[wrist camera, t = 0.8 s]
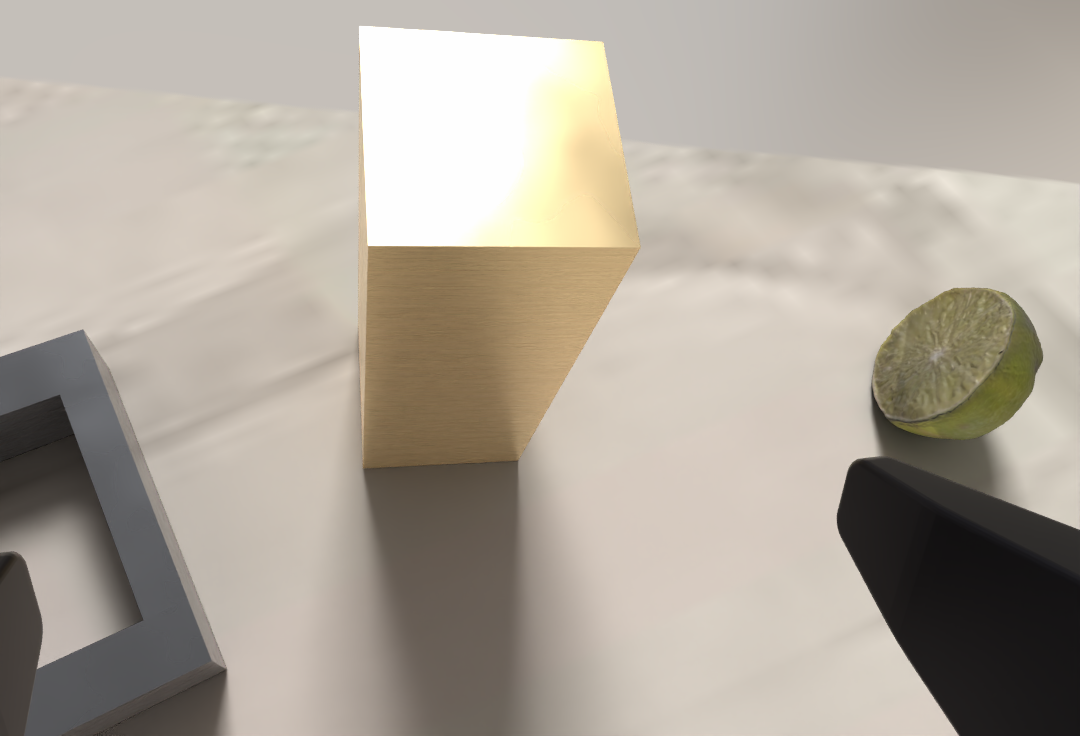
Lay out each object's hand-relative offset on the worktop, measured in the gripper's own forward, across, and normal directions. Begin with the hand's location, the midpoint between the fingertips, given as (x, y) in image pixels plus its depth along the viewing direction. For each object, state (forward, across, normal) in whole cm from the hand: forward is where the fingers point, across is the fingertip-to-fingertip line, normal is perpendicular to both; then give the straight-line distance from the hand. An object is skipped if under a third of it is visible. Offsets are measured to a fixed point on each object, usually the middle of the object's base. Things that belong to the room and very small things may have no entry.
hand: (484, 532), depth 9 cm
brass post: (+15, -2, +6) cm, 16 cm away
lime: (+14, -18, +7) cm, 24 cm away
